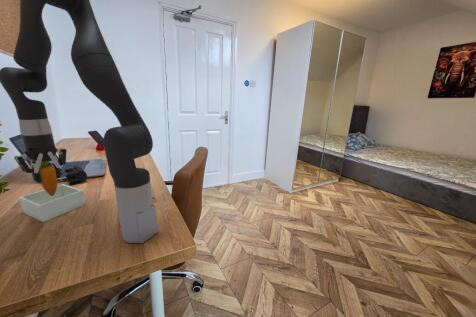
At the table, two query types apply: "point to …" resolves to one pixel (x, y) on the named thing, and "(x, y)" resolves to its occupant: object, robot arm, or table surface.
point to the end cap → (75, 175)
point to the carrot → (48, 178)
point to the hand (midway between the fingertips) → (48, 179)
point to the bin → (52, 202)
